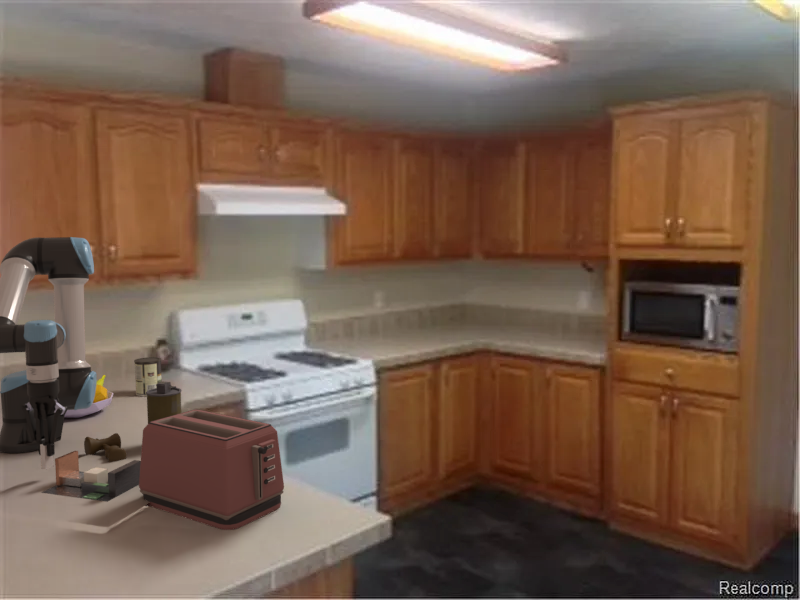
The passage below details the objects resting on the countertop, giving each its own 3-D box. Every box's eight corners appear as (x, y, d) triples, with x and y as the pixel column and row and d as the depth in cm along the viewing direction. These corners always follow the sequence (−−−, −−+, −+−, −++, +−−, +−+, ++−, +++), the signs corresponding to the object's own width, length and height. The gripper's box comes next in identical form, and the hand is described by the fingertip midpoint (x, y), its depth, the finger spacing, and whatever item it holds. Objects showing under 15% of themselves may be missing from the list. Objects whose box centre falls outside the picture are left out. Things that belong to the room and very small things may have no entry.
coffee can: (151, 389, 295) (150, 356, 293) (167, 392, 289) (166, 358, 288) (130, 394, 286) (128, 360, 285) (146, 397, 281) (145, 362, 279)
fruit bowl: (58, 427, 239) (57, 395, 238) (20, 414, 255) (19, 384, 254) (133, 410, 261) (132, 380, 260) (94, 399, 277) (93, 371, 276)
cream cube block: (84, 487, 181) (83, 472, 181) (95, 482, 185) (94, 467, 184) (97, 489, 180) (96, 473, 180) (108, 483, 184) (107, 468, 183)
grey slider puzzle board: (41, 496, 178) (39, 469, 177) (86, 475, 193) (85, 450, 192) (107, 506, 172) (106, 477, 171) (149, 483, 187) (148, 457, 186)
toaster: (235, 535, 156) (233, 445, 154) (137, 503, 174) (133, 422, 172) (293, 506, 172) (291, 425, 170) (197, 479, 190) (195, 405, 188)
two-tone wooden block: (56, 485, 182) (54, 458, 181) (76, 476, 189) (74, 450, 188) (77, 488, 180) (75, 461, 179) (96, 479, 187) (95, 452, 186)
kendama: (100, 470, 199) (79, 451, 214) (135, 464, 205) (112, 445, 220) (100, 450, 198) (79, 432, 213) (135, 444, 204) (112, 427, 220)
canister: (172, 451, 213) (170, 387, 211) (141, 449, 216) (138, 385, 213) (190, 441, 224) (188, 379, 222) (160, 439, 226) (157, 377, 224)
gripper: (11, 381, 182) (16, 469, 185) (52, 384, 179) (56, 474, 181) (34, 375, 190) (38, 460, 192) (74, 378, 186) (78, 465, 188)
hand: (47, 467), depth 187 cm, fingers closed
